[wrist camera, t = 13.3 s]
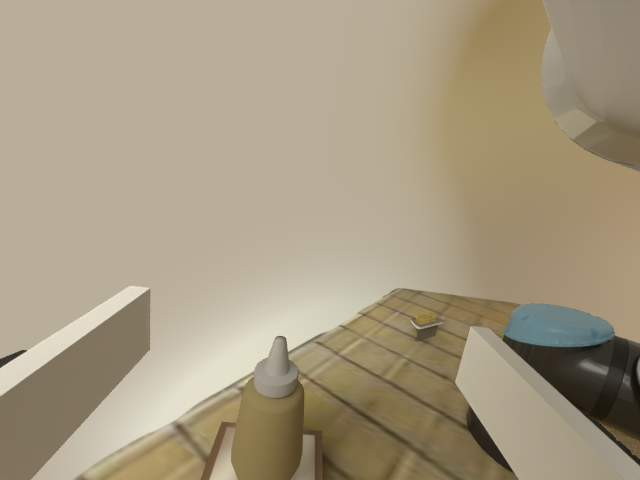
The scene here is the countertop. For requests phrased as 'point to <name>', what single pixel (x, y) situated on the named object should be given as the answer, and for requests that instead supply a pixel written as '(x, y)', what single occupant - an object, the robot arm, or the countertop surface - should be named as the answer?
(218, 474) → the picture frame
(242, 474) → the squeeze bottle
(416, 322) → the platform
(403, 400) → the countertop surface
